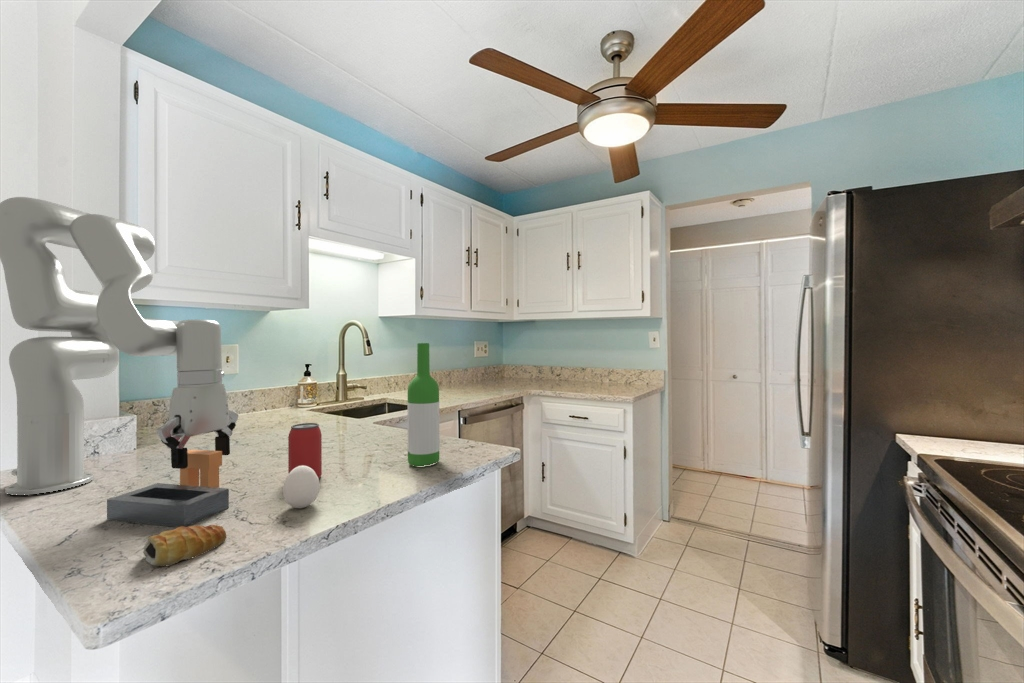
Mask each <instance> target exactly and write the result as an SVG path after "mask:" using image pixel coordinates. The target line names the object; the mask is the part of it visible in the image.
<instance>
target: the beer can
mask: <svg viewBox="0 0 1024 683" xmlns="http://www.w3.org/2000/svg"><path fill="white" fill-rule="evenodd" d="M287 438H288V439H287V440H288V444H287V445H288V446H287V448H288V452H287V453H288V456H287V457H288V458H287V460H288V465H287V467H288V474H289V473H290V472H291V471H292V470H293V469H294V468H296V467H298V466H302V465H303V466H308V467H310V468H312V469H313V470H314V471H315V473H316V475H317V476H318V479H319V480H320V478H321V477H322V474H323V473H322V468H323V467H322V465H323V464H322V463H323V462H322V460H323V457H322V454H323V453H322V447H323V446H322V443H323V442H322V438H323V437H322V431H321V428H320V424H319V423H316V422H304V423H296V424H293V425H291V426H290V431H289V433H288V437H287ZM288 474H287V475H288Z"/></svg>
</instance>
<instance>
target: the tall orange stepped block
mask: <svg viewBox="0 0 1024 683" xmlns="http://www.w3.org/2000/svg"><path fill="white" fill-rule="evenodd" d="M187 452H188V467H187V468H184V469H179V485H188V486H201V487H214V488H220V467H222V466H223V455H222V451H215V450H210V449H209V450H206V449H187Z"/></svg>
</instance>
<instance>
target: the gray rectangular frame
mask: <svg viewBox="0 0 1024 683" xmlns="http://www.w3.org/2000/svg"><path fill="white" fill-rule="evenodd" d="M229 490H230V489H229V488H226V487H225V488H224V487H218V488H214V487H201V486H200V485H199V486H188V485H180V484H173V483H172V484H171V483H162V482H161V483H159V482H157V483H153V484H151V485H147V486H145V487H141V488H138V489H136V490H133V491H129V492H126V493H123V494H122V493H121V494H120V495H117V496H114V497H110V498H107V499H106V520H107V521H112V520H117V521H116V522H122V521H126V522H125V523H132V522H134V523H135V524H142V523H144V525H153V526H162V525H163V527H164V526H165V527H171V526H172V527H173V526H174V527H173V528H178V527H181V526H182V527H189V526H192V525H193V524H197V523H198V522H200V521H202V519H203V520H205V519H206V518H209V517H211V516H213V515H216V514H218V513H220V512H222V511H225V510H226V509H230V508H229V506H230V500H229V497H230V496H229V493H230V492H229ZM134 523H133V524H134Z"/></svg>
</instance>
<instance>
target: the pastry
mask: <svg viewBox="0 0 1024 683" xmlns="http://www.w3.org/2000/svg"><path fill="white" fill-rule="evenodd" d="M226 539H227V533H226V530H225V529H224V526H221V525H215V524H209V525H207V526H204V525H201V524H200V525H189V526H187V527H182V526H181V527H175V529H170V530H164V531H160V533H159V534H155V535H151V536H148V538H147V541H146V542H145V544H144V548H143V555H144V556H145V561H147V562H146V563H149V564H150V565H151V566H153V567H159V566H160V567H167V566H166V565H170V566H173V565H176V564H175V563H177V564H178V563H179V562H180V561H183V560H187V559H188V560H191V559H193V558H192V557H194V558H195V556H196V557H197V556H200V555H203V554H205V553H207V552H209V551H211V550H213V549H212V548H214V547H216V546H217V547H219V546H220V545H221V544H223V543H225V542H226ZM217 547H216V548H217ZM210 549H211V550H210ZM214 549H215V548H214ZM208 550H209V551H208ZM206 551H207V552H206ZM204 552H205V553H204ZM202 553H203V554H202ZM190 558H191V559H190Z"/></svg>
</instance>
